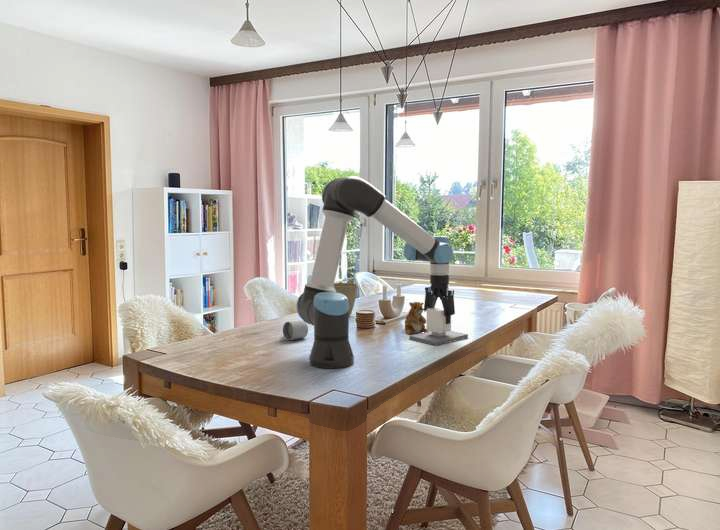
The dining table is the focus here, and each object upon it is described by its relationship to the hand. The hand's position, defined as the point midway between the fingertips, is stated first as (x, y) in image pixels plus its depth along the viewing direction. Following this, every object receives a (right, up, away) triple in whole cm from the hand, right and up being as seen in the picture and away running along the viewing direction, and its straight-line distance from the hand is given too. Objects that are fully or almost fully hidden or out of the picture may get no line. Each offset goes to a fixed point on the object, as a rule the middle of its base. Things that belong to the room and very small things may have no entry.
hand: (438, 330), depth 213 cm
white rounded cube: (0, 0, 0) cm, 0 cm away
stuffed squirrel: (-8, -2, +15) cm, 17 cm away
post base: (0, -3, 0) cm, 4 cm away
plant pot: (-41, +1, +49) cm, 64 cm away
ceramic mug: (-59, -4, 0) cm, 59 cm away
